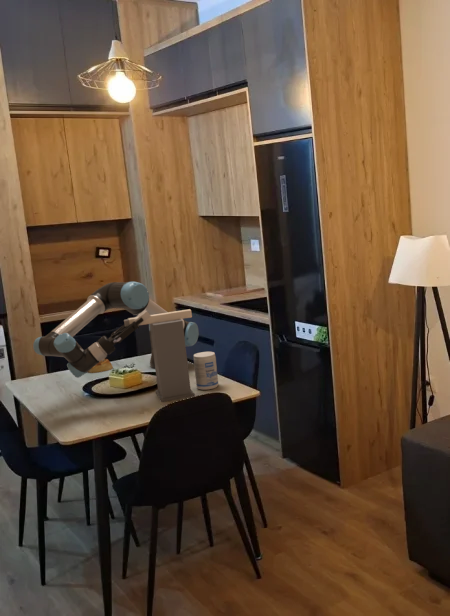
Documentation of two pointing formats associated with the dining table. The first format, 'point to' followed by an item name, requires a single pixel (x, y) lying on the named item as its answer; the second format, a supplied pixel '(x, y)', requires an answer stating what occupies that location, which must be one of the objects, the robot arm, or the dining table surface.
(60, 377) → the dining table surface
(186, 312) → the beige square bar
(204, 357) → the supplement tub
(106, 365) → the pastry
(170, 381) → the stand
